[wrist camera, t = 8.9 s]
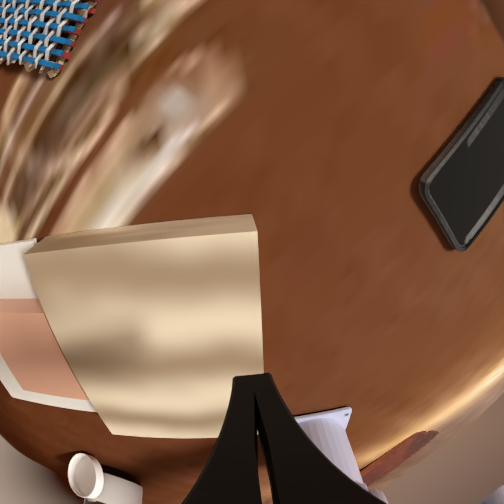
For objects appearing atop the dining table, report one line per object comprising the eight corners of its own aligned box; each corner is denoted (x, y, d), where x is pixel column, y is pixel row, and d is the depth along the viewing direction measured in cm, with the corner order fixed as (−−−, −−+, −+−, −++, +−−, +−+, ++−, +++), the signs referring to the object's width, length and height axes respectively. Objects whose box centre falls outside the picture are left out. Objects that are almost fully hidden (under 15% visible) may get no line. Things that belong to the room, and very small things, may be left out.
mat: (109, 409, 24) (108, 413, 23) (13, 394, 23) (12, 397, 22) (35, 237, 17) (32, 240, 16) (-56, 254, 16) (-60, 256, 15)
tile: (94, 384, 22) (88, 400, 20) (30, 376, 21) (23, 389, 19) (55, 297, 18) (43, 313, 16) (-10, 298, 17) (-22, 311, 16)
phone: (537, 143, 16) (460, 257, 19) (529, 142, 17) (452, 252, 20) (507, 71, 13) (418, 186, 17) (498, 71, 14) (409, 183, 18)
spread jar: (129, 489, 34) (123, 546, 23) (65, 463, 30) (51, 521, 19) (156, 473, 30) (151, 544, 20) (78, 442, 27) (60, 515, 16)
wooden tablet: (335, 498, 43) (337, 504, 41) (299, 499, 40) (301, 506, 38) (442, 428, 35) (446, 435, 34) (416, 425, 32) (420, 433, 31)
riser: (262, 407, 25) (265, 433, 22) (118, 410, 24) (112, 434, 21) (251, 213, 17) (257, 230, 15) (46, 236, 17) (23, 254, 14)
